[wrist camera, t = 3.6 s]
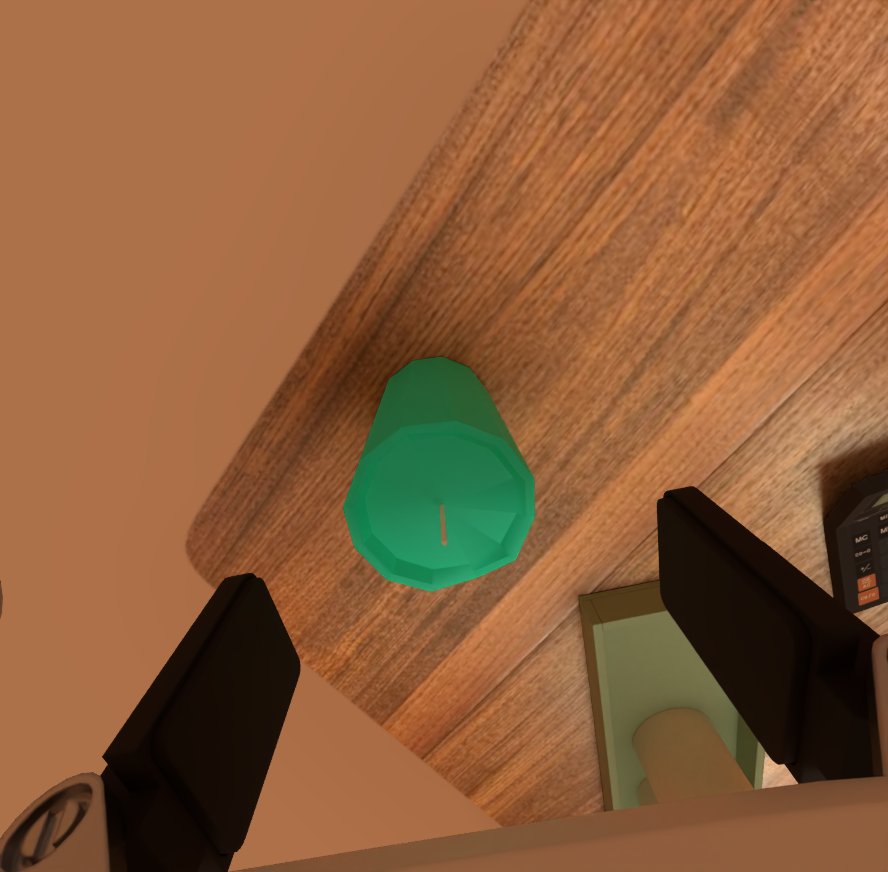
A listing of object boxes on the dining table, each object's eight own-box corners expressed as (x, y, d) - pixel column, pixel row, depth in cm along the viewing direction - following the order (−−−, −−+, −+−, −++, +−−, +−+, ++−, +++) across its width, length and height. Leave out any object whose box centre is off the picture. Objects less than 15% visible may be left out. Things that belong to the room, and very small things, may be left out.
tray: (606, 822, 37) (619, 860, 34) (578, 596, 28) (592, 625, 25) (736, 799, 36) (757, 835, 34) (749, 561, 27) (780, 588, 25)
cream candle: (634, 767, 33) (741, 1017, 22) (630, 716, 31) (746, 963, 20) (710, 753, 33) (857, 998, 22) (712, 700, 31) (874, 941, 20)
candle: (375, 456, 24) (330, 621, 12) (383, 349, 22) (337, 429, 10) (481, 467, 24) (529, 634, 13) (499, 363, 22) (575, 453, 11)
